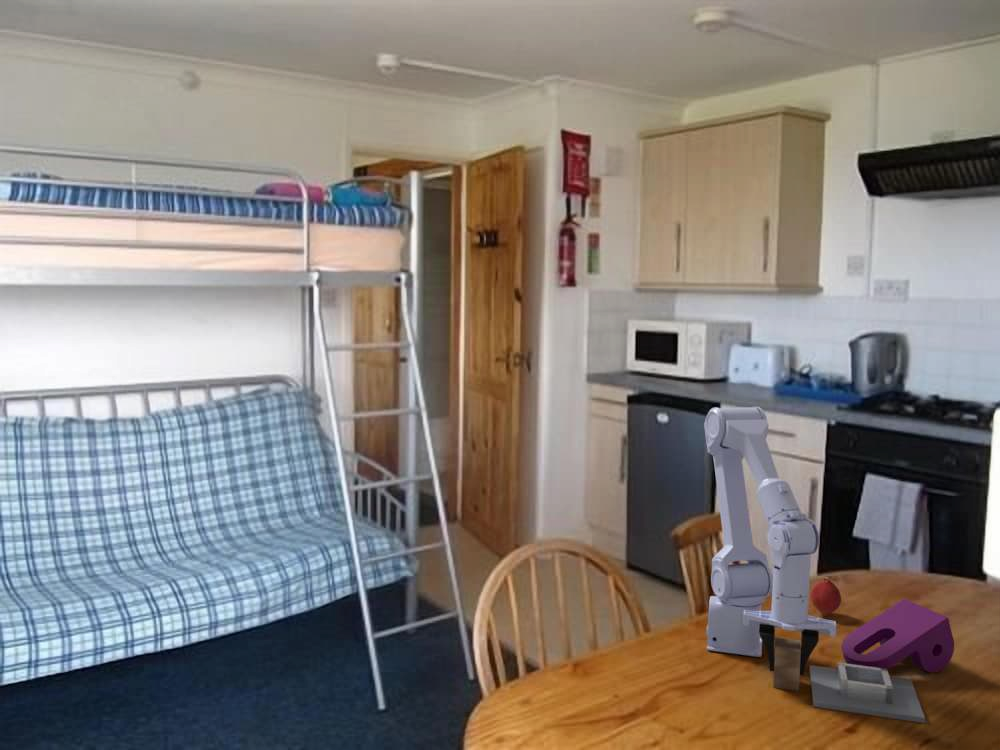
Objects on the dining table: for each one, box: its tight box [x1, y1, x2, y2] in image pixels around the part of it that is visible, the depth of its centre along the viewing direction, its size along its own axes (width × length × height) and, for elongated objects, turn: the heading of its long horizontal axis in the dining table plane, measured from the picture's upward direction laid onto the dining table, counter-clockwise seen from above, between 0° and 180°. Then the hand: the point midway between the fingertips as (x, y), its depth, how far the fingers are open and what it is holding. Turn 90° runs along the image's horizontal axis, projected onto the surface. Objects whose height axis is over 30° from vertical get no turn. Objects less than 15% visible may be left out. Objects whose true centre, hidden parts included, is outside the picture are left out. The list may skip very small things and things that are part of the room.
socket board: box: [809, 662, 926, 724], centre depth 141 cm, size 16×14×3 cm
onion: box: [809, 576, 842, 617], centre depth 175 cm, size 6×6×8 cm
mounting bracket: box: [840, 598, 955, 673], centre depth 152 cm, size 9×8×18 cm
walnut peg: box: [772, 636, 801, 692], centre depth 144 cm, size 4×4×7 cm
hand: (786, 671), depth 144 cm, fingers closed on walnut peg, 4 cm apart
